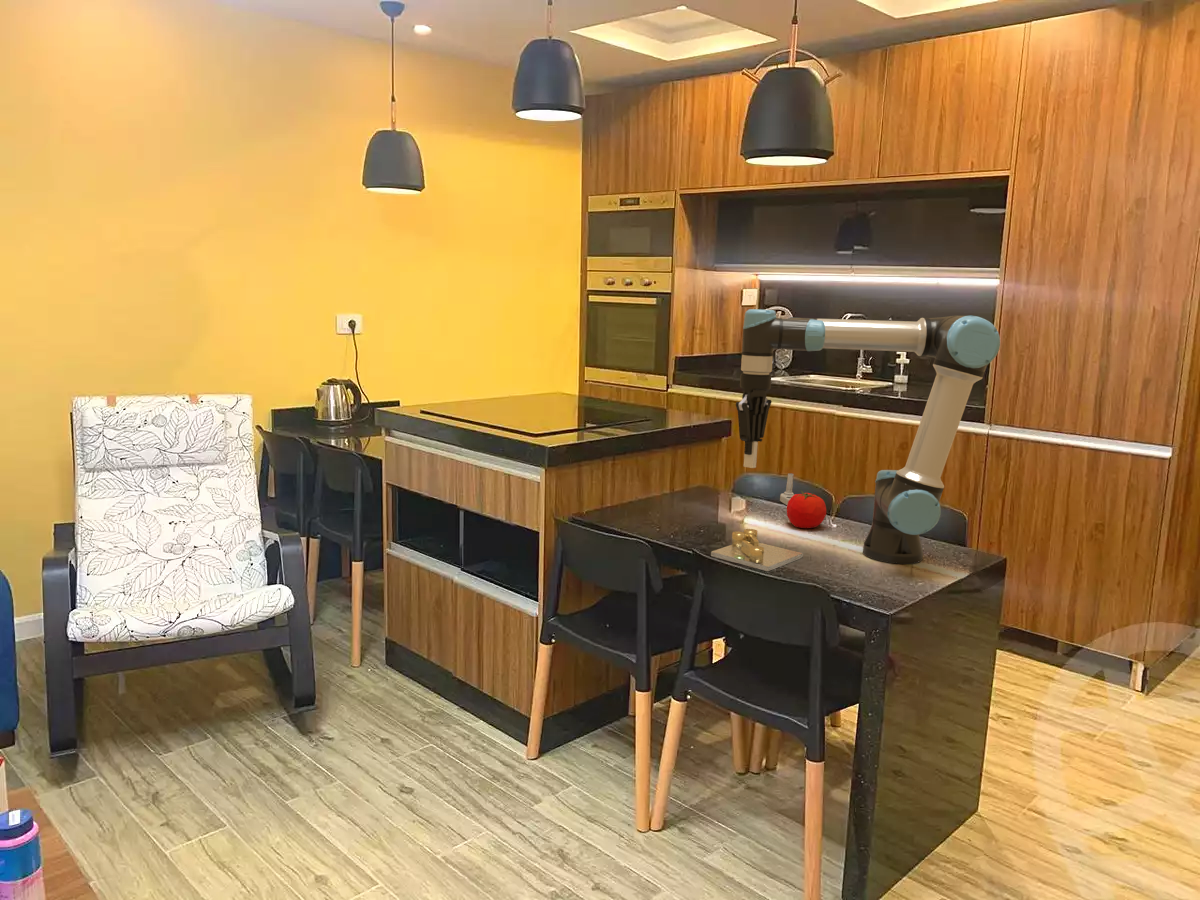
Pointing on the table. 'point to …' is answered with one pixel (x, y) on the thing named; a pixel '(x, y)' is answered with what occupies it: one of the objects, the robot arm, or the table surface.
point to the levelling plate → (771, 558)
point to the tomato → (806, 510)
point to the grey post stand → (787, 490)
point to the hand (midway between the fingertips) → (749, 466)
